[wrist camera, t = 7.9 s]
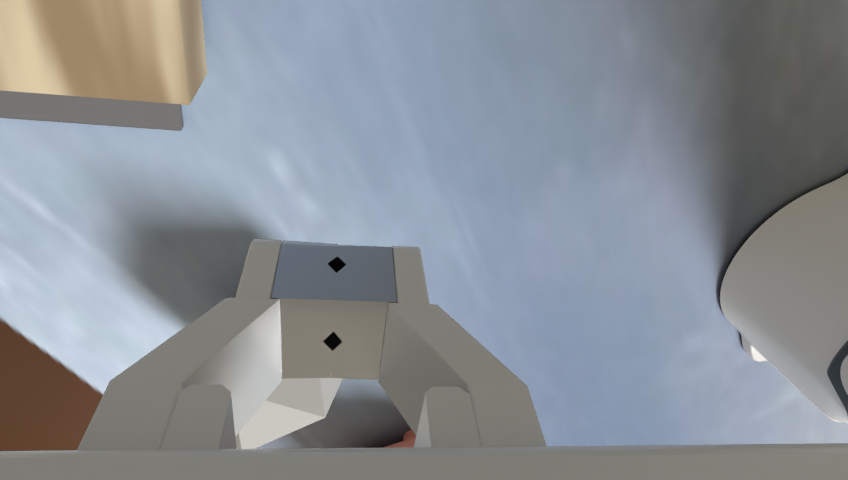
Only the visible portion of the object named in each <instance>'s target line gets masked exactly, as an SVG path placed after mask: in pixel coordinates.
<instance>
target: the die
mask: <svg viewBox="0 0 848 480" xmlns="http://www.w3.org/2000/svg"><path fill="white" fill-rule="evenodd" d="M342 379H343V378H290V379H282V381H281V383H280V384H279V385H278V386H277V387H276V389H275V390H274V391H273V392H272V393H271V395H270V396H269V397H268V398H267V399H266V400H265V402H264V403H263V404H262V405H261V406H260V408H259V409H258V410H257V411H256V412H255V414H254V415H253V416H252V417H251V418H250V420H249V421H248V422H247V423H246V424H245V425H244V427H243V428H242V429H241V430H240V431H239V433H238V434H237V435H236V436H235V438H236V447H237V448H238V449H255V448H257V447H259V446H262V445H264V444H266V443H269V442H271V441H273V440H275V439H278V438H280V437H282V436H285V435H287V434H289V433H291V432H294V431H296V430H298V429H301V428H303V427H305V426H307V425H310V424H312V423H314V422H316V421H319V420H321V419H323V418H325V417H326V415H327V413H328V411H329V408H330V406H331V404H332V402H333V399H334V397H335V395H336V393H337V390H338V388H339V386H340V384H341V382H342Z"/></svg>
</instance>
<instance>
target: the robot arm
mask: <svg viewBox="0 0 848 480" xmlns="http://www.w3.org/2000/svg"><path fill="white" fill-rule="evenodd" d="M720 304H721V309H722V312H723V314H724V316H725V318H726V319H727V320H728V321H729V323H730V324H732V325H733V326H734V327H735V328H736V329H737V330H738V331H739V332H740V333H741V336H742V345H743V349H744V351H745V352H746V353H747V354H748V355H749V356H750V357H751V358H752V359H753V360H755V361H768V362H769V363H770V364H772V365H773V366H774V367H775V368H776V369H777V370H778V371H779V372H780V373H781V374H782V375H783V376H784V377H785V378H786V379H787V380H788V381H789V382H790V383H792V384H793V385H794V386H795V387H796V388H797V389H798V390H799V391H800V392H801V393H802V394H803V395H804V396H805V397H807V398H808V399H809V400H810V401H811V402H812V403H813V404H814V405H815V406H816V407H817V408H818V409H819V410H821V411H822V412H823V413H824V414H825V415H826V416H827V417H829V418H830V419H832V420H834V421H836V422H843V423H848V173H847V174H846V175H844V176H842V177H840V178H839V179H837V180H835V181H833V182H830V183H828V184H826V185H824V186H821V187H819V188H817V189H815V190H813V191H811V192H809V193H807V194H805V195H803V196H801V197H799V198H798V199H796V200H794V201H793V202H791V203H789V204H788V205H786V206H785V207H783V208H782V209H781V210H779V211H778V212H777V213H775V214H774V215H773V216H772V217H770V218H769V219H768V220H767V221H766V222H764V223H763V224H762V225H761V226H760V227H759V228H758V229H757V230H756V231H755V232H754V233H753V234H752V235H751V236H750V237H749V238H748V240H747V241H746V242H745V243H744V244H743V246H742V247H741V248H740V249H739V251H738V252H737V254H736V255H735V257H734V258H733V260H732V262H731V263H730V265H729V267H728V269H727V271H726V274H725V276H724V279H723V282H722V286H721V292H720ZM290 378H346V379H373V380H378V382H379V384H380V385H381V386H382V388H383V389H384V391H385V392H386V394H387V395H388V396H389V398H390V399H391V401H392V402H393V404H394V405H395V406H396V408H397V409H398V411H399V412H400V414H401V415H402V416H403V418H404V419H405V421H406V422H407V424H408V425H409V426H410V428H411V429H412V431H413V432H414V433H415V435H416V439H415V444H414V447H403V448H301V449H237V448H236V438H235V436H236V435H237V434H238V433H239V431H240V430H241V429H242V428H243V427H244V425H245V424H246V423H247V422H248V421H249V420H250V418H251V417H252V416H253V415H254V414H255V412H256V411H257V410H258V409H259V408H260V406H261V405H262V404H263V403H264V402H265V400H266V399H267V398H268V397H269V396H270V395H271V393H272V392H273V391H274V390H275V389H276V387H277V386H278V385H279V384H280V383H281V381H282V379H290ZM0 480H848V443H833V444H727V445H625V446H546V443H545V440H544V436H543V433H542V430H541V427H540V424H539V421H538V418H537V415H536V411H535V408H534V405H533V402H532V399H531V396H530V393H529V390H528V387H527V385H526V384H525V383H523V382H522V381H521V380H520V379H519V378H518V377H517V376H516V375H515V374H513V373H512V372H511V371H510V370H509V369H508V368H507V367H506V366H505V365H504V364H502V363H501V362H500V361H499V360H498V359H497V358H496V357H495V356H494V355H492V354H491V353H490V352H489V351H488V350H487V349H486V348H485V347H484V346H482V345H481V344H480V343H479V342H478V341H477V340H476V339H475V338H474V337H473V336H471V335H470V334H469V333H468V332H467V331H466V330H465V329H464V328H463V327H461V326H460V325H459V324H458V323H457V322H456V321H455V320H454V319H453V318H451V317H450V316H449V315H448V314H447V313H446V312H445V311H444V310H443V309H442V308H440V307H439V306H438V305H434V304H429V298H428V292H427V286H426V280H425V274H424V268H423V262H422V256H421V250H420V249H419V248H418V247H401V246H392V247H378V246H353V245H338V244H327V243H313V242H299V241H285V240H283V242H282V241H281V240H267V239H253V241H252V242H251V243H250V246H249V250H248V253H247V257H246V261H245V264H244V268H243V271H242V275H241V279H240V282H239V286H238V289H237V293H236V297H235V298H225V299H224V300H222V301H221V302H219V303H218V304H217V305H215V306H214V307H213V308H211V309H210V310H208V311H207V312H206V313H204V314H203V315H201V316H200V317H199V318H197V319H196V320H194V321H193V322H192V323H190V324H189V325H187V326H186V327H185V328H183V329H182V330H180V331H179V332H178V333H176V334H175V335H174V336H172V337H171V338H169V339H168V340H167V341H165V342H164V343H162V344H161V345H160V346H158V347H157V348H155V349H154V350H153V351H151V352H150V353H148V354H147V355H146V356H144V357H143V358H141V359H140V360H139V361H137V362H136V363H134V364H133V365H132V366H130V367H129V368H128V369H126V370H125V371H123V372H122V373H121V374H119V375H118V376H116V377H115V378H114V379H112V380H111V381H110V382H109V384H108V386H107V388H106V391H105V393H104V395H103V397H102V399H101V401H100V403H99V405H98V407H97V409H96V412H95V414H94V416H93V418H92V420H91V422H90V424H89V426H88V428H87V430H86V432H85V435H84V437H83V439H82V441H81V443H80V445H79V447H78V449H77V451H0Z"/></svg>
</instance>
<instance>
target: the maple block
mask: <svg viewBox="0 0 848 480" xmlns="http://www.w3.org/2000/svg"><path fill="white" fill-rule="evenodd" d="M206 75H207V66H206V54H205V42H204V30H203V18H202V6H201V0H0V90H1V91H14V92H27V93H40V94H53V95H66V96H79V97H92V98H105V99H118V100H131V101H144V102H157V103H170V104H183V105H190V103H191V102H192V100H193V98H194V96H195V94H196V93H197V91H198V89H199V87H200V85H201V84H202V82H203V80H204V78H205V76H206Z"/></svg>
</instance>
